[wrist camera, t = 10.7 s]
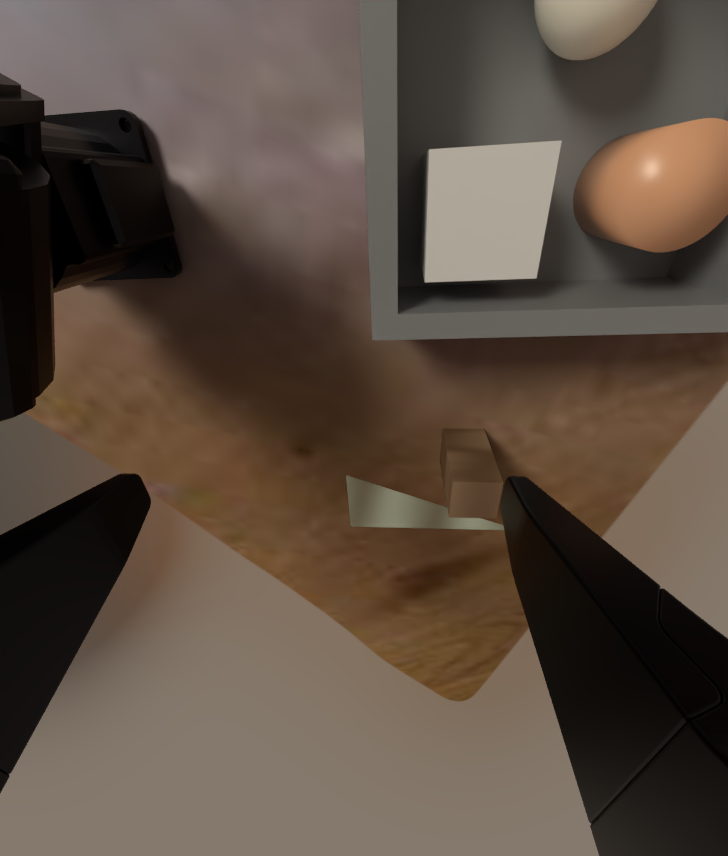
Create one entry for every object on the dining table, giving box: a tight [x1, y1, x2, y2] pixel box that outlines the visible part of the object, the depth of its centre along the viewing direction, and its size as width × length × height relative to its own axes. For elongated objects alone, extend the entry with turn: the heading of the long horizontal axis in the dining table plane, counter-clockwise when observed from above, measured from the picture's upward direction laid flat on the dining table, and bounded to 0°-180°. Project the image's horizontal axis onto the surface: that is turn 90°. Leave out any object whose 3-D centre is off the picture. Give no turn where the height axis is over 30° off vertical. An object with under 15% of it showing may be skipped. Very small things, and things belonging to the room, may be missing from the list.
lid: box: [346, 429, 504, 530], centre depth 22 cm, size 15×15×6 cm
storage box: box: [359, 0, 728, 341], centre depth 13 cm, size 14×14×6 cm
